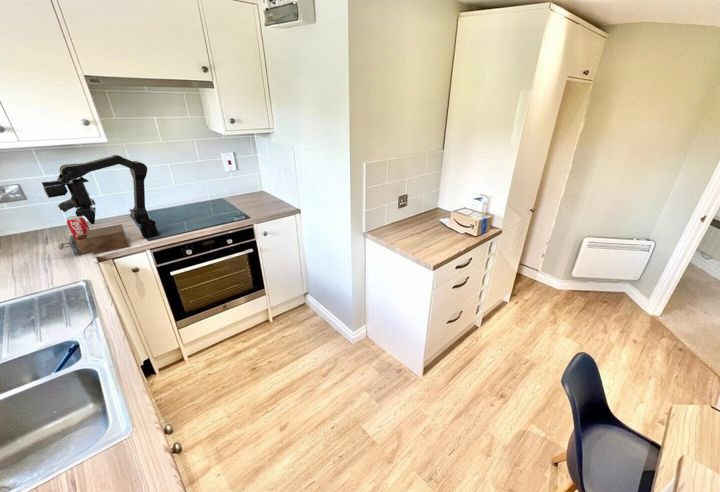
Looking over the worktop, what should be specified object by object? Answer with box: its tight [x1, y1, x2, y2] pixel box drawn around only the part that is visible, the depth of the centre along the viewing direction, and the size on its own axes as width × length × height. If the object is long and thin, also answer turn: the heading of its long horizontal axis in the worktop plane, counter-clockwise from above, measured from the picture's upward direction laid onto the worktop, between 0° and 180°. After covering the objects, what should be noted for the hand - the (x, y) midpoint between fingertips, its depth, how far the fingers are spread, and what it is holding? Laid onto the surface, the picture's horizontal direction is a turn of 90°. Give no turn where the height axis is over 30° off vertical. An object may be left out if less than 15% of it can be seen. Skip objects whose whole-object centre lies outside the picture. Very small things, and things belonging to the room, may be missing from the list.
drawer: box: [58, 233, 93, 257], centre depth 155 cm, size 17×10×7 cm, turn 130°
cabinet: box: [86, 223, 130, 255], centre depth 161 cm, size 14×12×9 cm
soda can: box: [66, 215, 91, 241], centre depth 167 cm, size 7×7×12 cm
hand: (93, 224), depth 155 cm, fingers closed
